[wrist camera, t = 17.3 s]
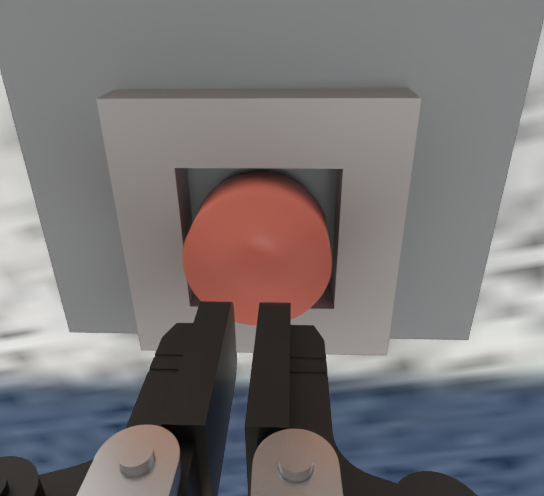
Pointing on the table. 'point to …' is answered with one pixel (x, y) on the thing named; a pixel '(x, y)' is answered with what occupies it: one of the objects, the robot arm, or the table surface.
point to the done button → (258, 246)
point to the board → (274, 52)
